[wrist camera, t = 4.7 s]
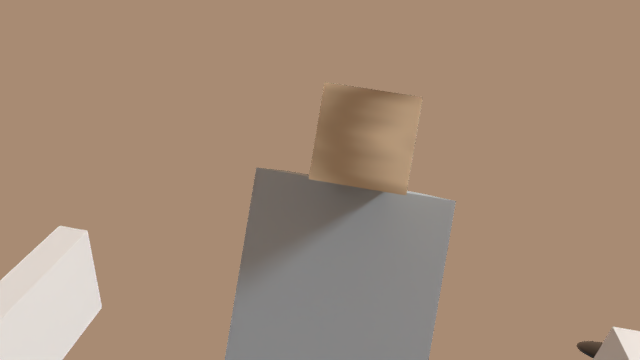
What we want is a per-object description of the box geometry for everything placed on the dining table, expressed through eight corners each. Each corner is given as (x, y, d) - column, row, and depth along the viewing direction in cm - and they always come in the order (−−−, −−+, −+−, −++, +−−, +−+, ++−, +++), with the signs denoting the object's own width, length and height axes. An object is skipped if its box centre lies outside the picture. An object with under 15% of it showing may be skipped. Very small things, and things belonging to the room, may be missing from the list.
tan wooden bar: (308, 179, 19) (324, 82, 19) (331, 178, 42) (338, 134, 42) (406, 195, 19) (422, 97, 19) (375, 185, 42) (382, 141, 42)
